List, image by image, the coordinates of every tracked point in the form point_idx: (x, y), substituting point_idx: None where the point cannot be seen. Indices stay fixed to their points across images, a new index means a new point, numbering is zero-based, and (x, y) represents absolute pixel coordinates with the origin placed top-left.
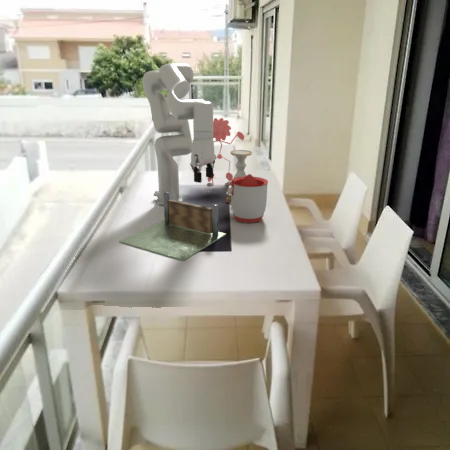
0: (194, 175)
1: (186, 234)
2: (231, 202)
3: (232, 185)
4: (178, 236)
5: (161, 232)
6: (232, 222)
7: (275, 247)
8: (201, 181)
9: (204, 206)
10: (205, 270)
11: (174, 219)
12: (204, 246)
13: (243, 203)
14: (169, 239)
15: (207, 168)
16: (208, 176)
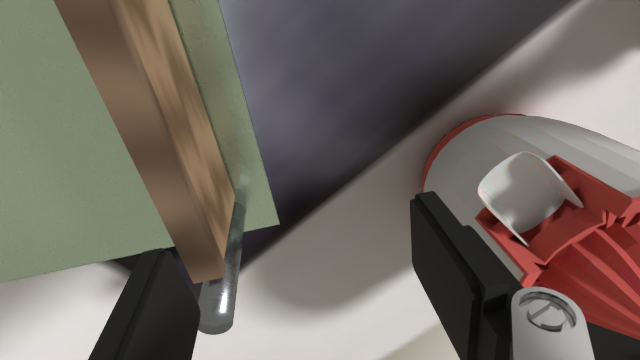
0: (114, 322)
1: None
2: (473, 162)
3: (587, 185)
4: (84, 117)
5: (18, 2)
6: (404, 152)
7: (311, 350)
8: (193, 323)
9: (202, 236)
10: (43, 345)
11: None
12: (130, 253)
13: None
14: (23, 114)
15: (465, 310)
16: (415, 234)
